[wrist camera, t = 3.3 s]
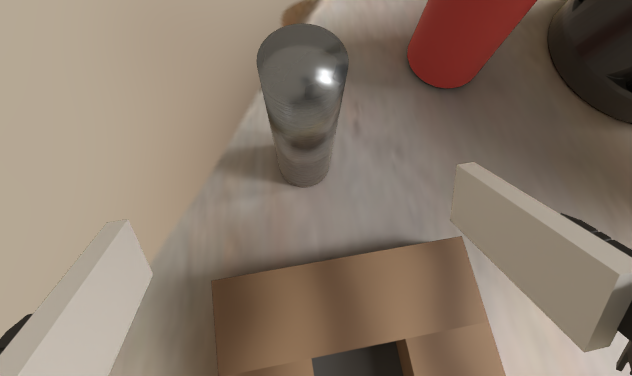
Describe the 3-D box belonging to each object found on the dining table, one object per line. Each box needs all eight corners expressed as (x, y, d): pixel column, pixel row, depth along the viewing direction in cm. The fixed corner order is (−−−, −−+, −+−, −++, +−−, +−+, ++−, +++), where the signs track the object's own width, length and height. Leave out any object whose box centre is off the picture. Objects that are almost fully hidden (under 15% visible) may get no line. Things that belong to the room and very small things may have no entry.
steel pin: (324, 137, 26) (338, 18, 14) (333, 183, 25) (357, 93, 13) (276, 144, 25) (251, 28, 14) (283, 190, 24) (262, 105, 13)
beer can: (390, 54, 29) (448, -100, 17) (441, 22, 30) (526, -141, 19) (439, 105, 27) (538, -27, 16) (490, 68, 29) (615, -77, 17)
